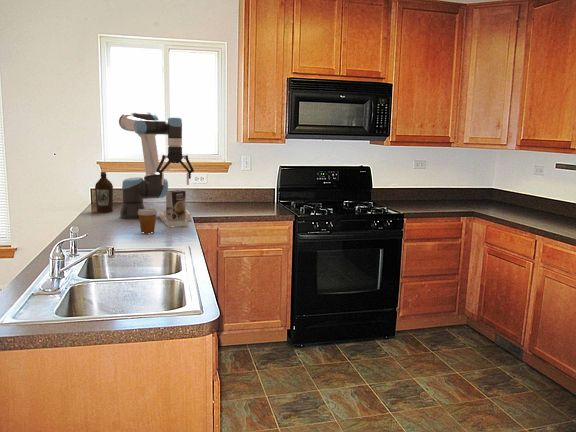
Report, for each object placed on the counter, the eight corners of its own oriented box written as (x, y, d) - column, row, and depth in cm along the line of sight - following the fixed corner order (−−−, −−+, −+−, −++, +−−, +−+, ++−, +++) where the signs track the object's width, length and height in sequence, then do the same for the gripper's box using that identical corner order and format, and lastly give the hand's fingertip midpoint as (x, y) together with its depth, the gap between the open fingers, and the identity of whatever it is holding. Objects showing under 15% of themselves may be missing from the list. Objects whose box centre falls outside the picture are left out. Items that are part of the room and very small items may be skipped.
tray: (167, 227, 270) (167, 222, 269) (164, 222, 283) (164, 217, 282) (188, 226, 274) (187, 221, 273) (184, 222, 286) (183, 216, 286)
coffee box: (173, 221, 272) (173, 192, 269) (165, 219, 276) (165, 191, 273) (186, 219, 279) (186, 190, 276) (178, 217, 283) (178, 189, 280)
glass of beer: (150, 230, 262) (149, 207, 260) (161, 233, 256) (160, 210, 254) (134, 232, 254) (133, 209, 252) (145, 235, 249) (144, 212, 246)
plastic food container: (162, 221, 286) (162, 214, 285) (159, 216, 302) (159, 210, 301) (190, 220, 292) (190, 213, 291) (185, 215, 307) (185, 209, 307)
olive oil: (98, 210, 319) (96, 171, 315) (115, 210, 320) (113, 171, 316) (94, 212, 309) (92, 172, 304) (111, 212, 310) (110, 172, 306)
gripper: (152, 146, 263) (152, 185, 267) (199, 146, 271) (199, 185, 275) (150, 145, 270) (151, 184, 273) (196, 146, 278) (196, 183, 282)
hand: (175, 184), depth 274 cm, fingers open, 13 cm apart
